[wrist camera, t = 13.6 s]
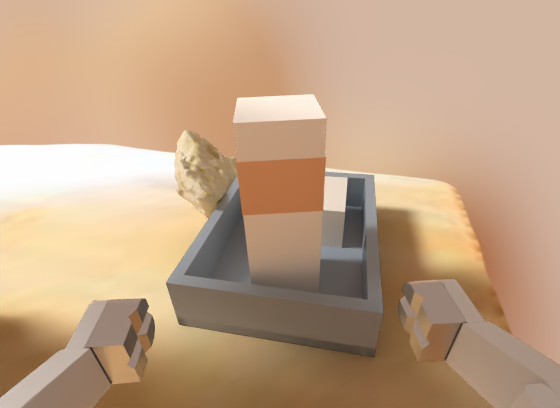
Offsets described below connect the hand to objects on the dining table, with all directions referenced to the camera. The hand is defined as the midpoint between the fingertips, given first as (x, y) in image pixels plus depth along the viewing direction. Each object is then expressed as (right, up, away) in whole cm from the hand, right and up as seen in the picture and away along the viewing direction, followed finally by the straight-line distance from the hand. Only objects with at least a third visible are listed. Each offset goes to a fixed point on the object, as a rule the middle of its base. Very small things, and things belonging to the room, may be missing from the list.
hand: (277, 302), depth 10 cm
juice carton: (0, -4, +20) cm, 20 cm away
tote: (+1, -2, +24) cm, 24 cm away
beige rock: (-8, +3, +33) cm, 34 cm away
